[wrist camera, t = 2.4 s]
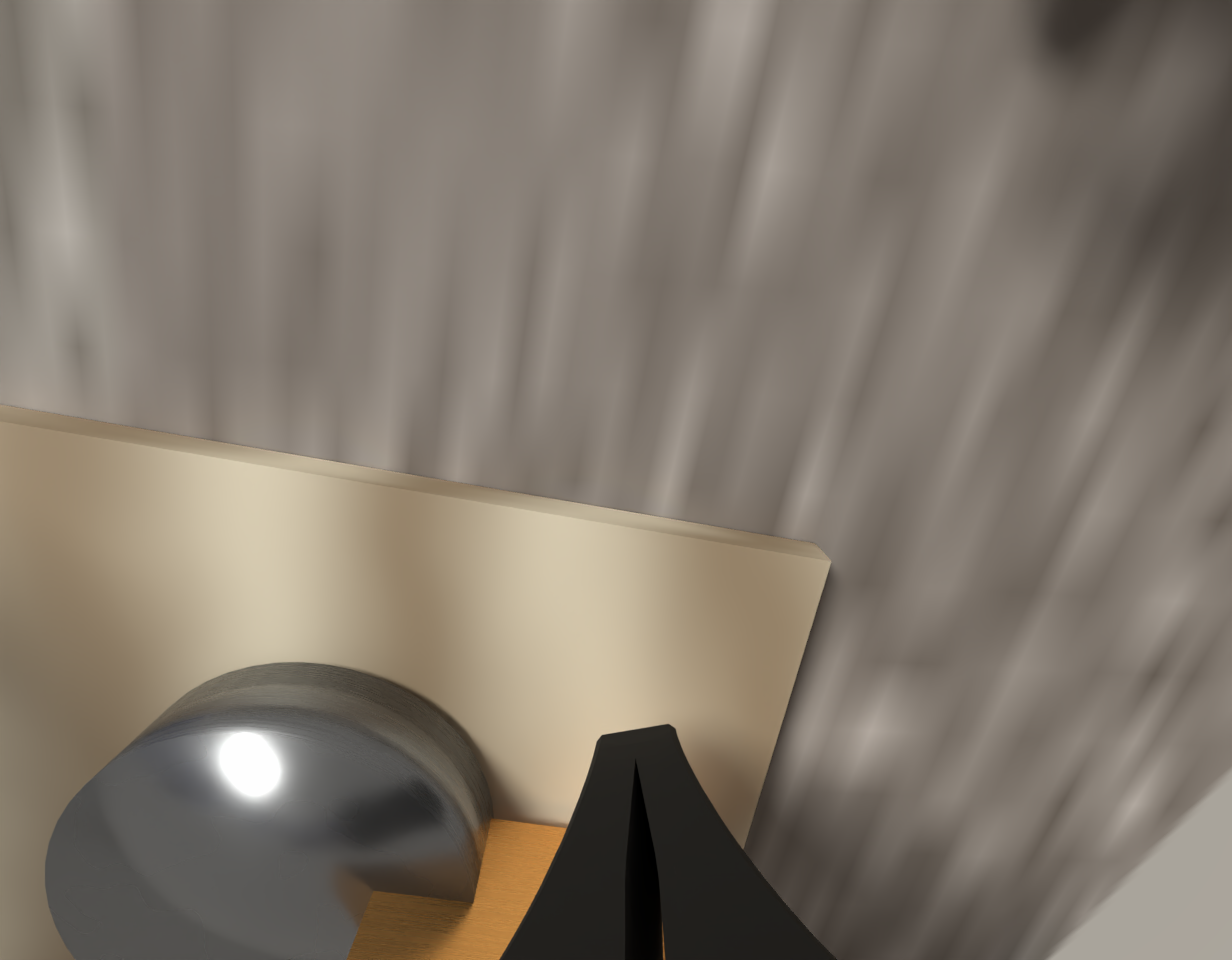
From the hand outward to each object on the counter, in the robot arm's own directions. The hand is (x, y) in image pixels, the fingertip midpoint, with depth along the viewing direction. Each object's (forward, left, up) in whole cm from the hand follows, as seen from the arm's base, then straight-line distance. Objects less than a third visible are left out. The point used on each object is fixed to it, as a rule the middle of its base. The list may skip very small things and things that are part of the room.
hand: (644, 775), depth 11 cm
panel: (-6, -5, -4) cm, 9 cm away
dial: (-4, -4, -2) cm, 6 cm away
